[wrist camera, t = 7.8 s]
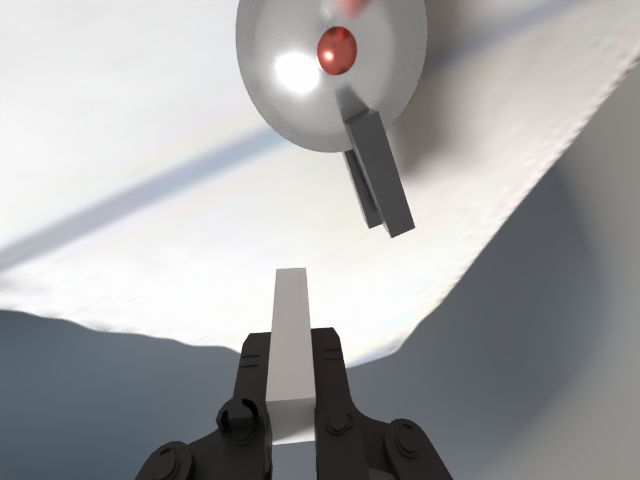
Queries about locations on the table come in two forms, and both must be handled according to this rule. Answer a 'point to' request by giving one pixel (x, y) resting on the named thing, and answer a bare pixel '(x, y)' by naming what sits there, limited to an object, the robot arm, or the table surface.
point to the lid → (337, 80)
